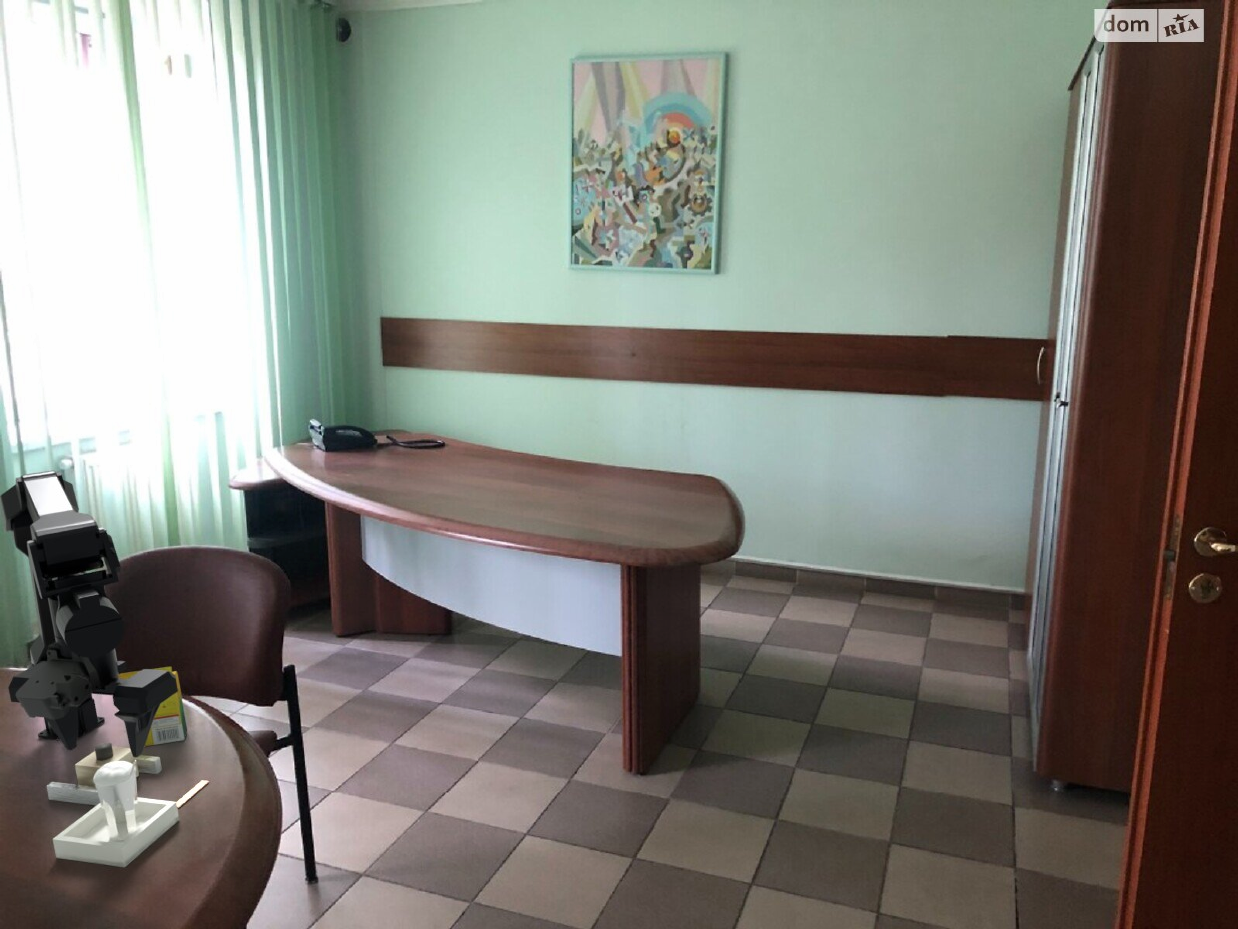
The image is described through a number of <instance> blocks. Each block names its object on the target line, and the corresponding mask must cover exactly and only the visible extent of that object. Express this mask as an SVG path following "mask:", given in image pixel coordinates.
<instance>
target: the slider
mask: <svg viewBox="0 0 1238 929" xmlns="http://www.w3.org/2000/svg"><path fill="white" fill-rule="evenodd" d="M135 760H136V758H135V757H133V755H132V752H131V749H130V747H123V746H122V747H121V746H120V747H119V746H113V745H112V743H111V742H102V743H100V744H97V745H96V746H95V747H94V751H93V752H91V753H90V754H88V755H87V756H85V757H84V758H82V759H81V760H80V761H78V762H77V763H75V764H74V768H75V773H76V778H77V785H84V786H93V787H95V784H94V781H93V778H94V775H95V773H96V772H97V770H98V769H100V768H101V767H102V766H104V765H105V764H107V763H110V762H114V761H126V762H129V763H132V764H133V762H134V761H135ZM135 767H136V778H137V777H139V776H140V772H138V767H137V761H136V763H135Z"/></svg>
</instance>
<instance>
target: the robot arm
mask: <svg viewBox="0 0 1238 929" xmlns="http://www.w3.org/2000/svg"><path fill="white" fill-rule="evenodd" d="M79 510H80V508H79V504H78V500H77V498H76V492H75V489H74V485H73V483H71V482H69V481H68V480H65V479H64V478H63V474H62V472H61V471H55V470H48V471H47V470H45V471H41V472H33V473H28V474H27V473H26V474H21V475H20V477H15V484H14V485H13V486H11V487H10V488H9V489H7V490H5V491H4V492H3V493H2V494H1V495H0V513H1V518H2V523H3V526H4V531H5V532H6V533H8V532H9V533H10V534H11V536H12V540H13V543H14V545H15V548H16V549H18V551H20V552H21V553H22V554H23V555H25V556H26V557H27V558H28V565H29V572H30V578H31V584H32V585H31V586H32V589H33V590H32V591H33V597H34V604H35V608H36V617H37V622H38V627H39V628H38V629H39V634H38V636H37V637H36V638H35V641H34V642H33V643H32V645H31V646H30V648H29V654H30V661H31V664H27V665H26V667H27V668H26V669H25V670H23V671H21V672H19V673H17V674H16V675H14V676H12V678H11V680H10V683H9V684H8V694H9V699H10V702H11V703H17V704H18V703H20V707H21V708H23V710H24V712H25V713H26V715H27V716H28V717H29V718H34V719H35V718H43V721H44V725H45V729H43V730H42V731H40V732H38V733H37V737H38V738H39V739H49V740H57V741H58V740H59V741H61V743H62V745H63V746H64V747H65V750H67V751H73V750H74V749H76V748H77V747H78V739H79V738H81V737H82V736H84V735H86V734H87V733H89V732H90V731H92V730H94V729H95V728H96V727H97V726H100V725H101V724H102V723H104V722H105V720H106V718H105V717H104V716H98V714H97V708H96V701H95V699H94V698H93V695H102V696H103V695H104V696H112V702H113V706H114V707H115V708H116V709H117V710H118V711H117V712H115V713H114V715H113V716H115V717H117V718H118V719H120V720H122V721H123V722H124V726H125V731H126V737H127V740H128V745H129V748H130V749H131V752H132V755H133V757H135V758H137V757H138V756H140V755H143V752H144V749H145V747H146V746H145V743H146V740H147V737H148V734H149V731H150V728H151V725H152V723H153V720H154V717H155V715H156V713H157V711H158V708H159V706H160V704H161V703H162V702H164V701H165V700H167V699H168V698H169V697H171V696H172V695H174V694H175V693H177V692H178V688H177V682H176V677H175V674H173V673H171V672H170V671H164V670H151V669H152V668H151V669H150V668H143V669H141V670H139V671H140V672H138V673H137V674H135V675H133V676H132V677H130V678H128V679H119V674H122V673H124V671H126V670H127V669H128V668H127V663H126V661H123V660H118V659H117V652H116V648H117V647H118V646H119V645H120V643H121V641H122V640H123V638H124V635H125V632H126V631H125V629H126V628H125V622H124V621H125V620H124V619H123V617H122V616H121V614H120V613H119V612H118V610H117V608H116V607H115V606H114V605H113V603H112V602H111V600H110V599H109V597H108V596H107V594H106V587H105V586H109V585H114V584H119V583H120V580H119V576H118V573H121V568H122V566H121V563H120V560H119V556H118V553H117V550H116V547H115V544H114V541H113V537H112V536H111V535H110V534H109V533H108V532H107V529H106V528H104V527H103V526H100V527H99V525H98V524H97V521H96V519H94V517H93V516H92V515H91V514H89V513H83V512H79ZM104 567H106V569H103V568H104ZM94 570H95V571H94ZM89 571H91V572H89ZM107 572H108V573H107Z"/></svg>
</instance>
